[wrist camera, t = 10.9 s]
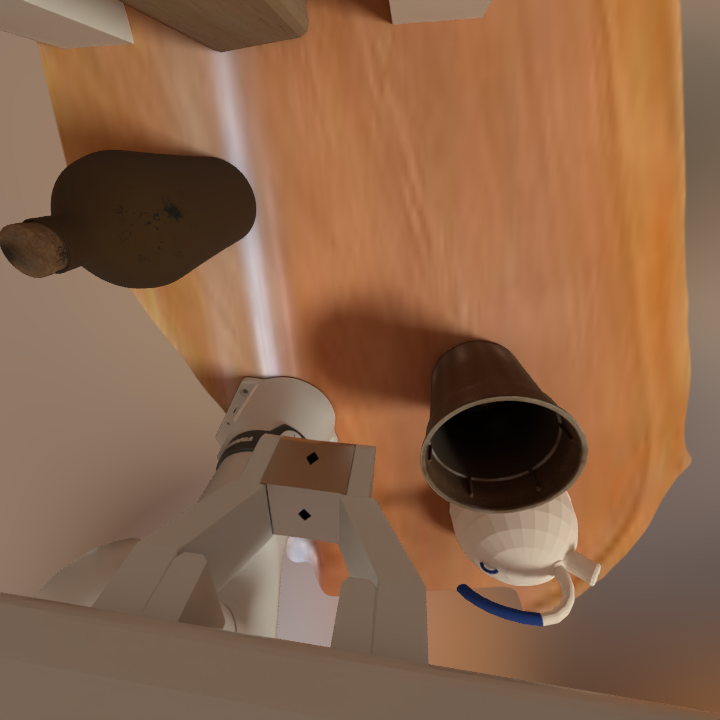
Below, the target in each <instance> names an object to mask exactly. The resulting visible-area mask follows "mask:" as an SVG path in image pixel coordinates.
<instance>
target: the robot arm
mask: <svg viewBox="0 0 720 720" xmlns="http://www.w3.org/2000/svg"><path fill="white" fill-rule="evenodd" d="M245 390H247V391H245ZM334 427H335V414H334V410H333V407H332V405H331V403H330V402H329V400H328V399H327V398H326V396H325V395H324V394H323V393H322V392H321V391H319V390H318V389H317V388H315V387H314V386H312V385H310V384H309V383H306V382H304V381H301V380H298V379H294V378H288V377H277V378H271V379H258V378H252V377H246V378H244V379H243V380H242V382H241V383H240V385H239V388H238V390H237V392H236V394H235V396H234V398H233V400H232V403H231V405H230V407H229V409H228V411H227V413H226V415H225V418H224V420H223V422H222V424H221V426H220V428H219V430H218V433H217V435H216V439H217V441H218V442H219V444H220V445H221V446H222V448H221V450H220V451H219V453H218V456H217V459H218V464H217V468H216V472H215V474H214V476H213V477H212V479H211V480H210V482H209V484H208V485H207V487H206V489H205V490H204V492H203V494H202V495H201V497H200V498H199V500H198V502H197V503H196V504H195V505H194V506H192V507H191V508H189V509H187V510H186V511H185V512H183V513H181V514H180V515H178V516H177V517H175V518H174V519H172V520H171V521H169V522H168V523H166V524H165V525H163V526H161V527H160V528H159V529H157V530H155V531H154V532H152V533H151V534H149V535H148V536H146V537H145V538H143V539H139V538H129V539H123V540H118V541H114V542H111V543H108V544H105V545H102V546H100V547H97V548H95V549H93V550H91V551H89V552H87V553H85V554H83V555H82V556H80V557H79V558H77V559H75V560H74V561H72V562H71V563H70V564H68V565H67V566H66V567H64V568H63V569H62V570H61V571H59V572H58V573H57V574H56V575H55V576H54V577H53V578H52V579H51V580H50V581H49V582H48V583H47V584H46V585H45V586H44V587H43V588H42V589H41V590H40V591H39V593H38V594H37V595H36V596H35V598H33V597H27V596H21V595H15V594H9V593H3V592H0V720H720V713H714V712H708V711H703V710H697V709H691V708H685V707H679V706H673V705H667V704H661V703H655V702H650V701H643V700H637V699H632V698H626V697H620V696H614V695H607V694H602V693H596V692H590V691H584V690H578V689H572V688H566V687H561V686H555V685H549V684H542V683H537V682H531V681H525V680H519V679H513V678H507V677H501V676H495V675H489V674H483V673H477V672H472V671H465V670H459V669H454V668H448V667H442V666H436V665H430V664H428V638H427V607H426V586H425V584H424V582H423V581H422V579H421V577H420V575H419V574H418V572H417V570H416V569H415V567H414V565H413V563H412V562H411V560H410V558H409V556H408V555H407V553H406V551H405V549H404V548H403V546H402V544H401V542H400V541H399V539H398V537H397V535H396V534H395V532H394V530H393V528H392V527H391V525H390V523H389V521H388V520H387V518H386V516H385V514H384V513H383V511H382V509H381V507H380V506H379V504H378V502H377V500H376V499H372V489H373V477H374V465H375V453H376V447H375V446H368V445H358V444H357V445H356V444H348V443H338V439H337V436H336V434H335V431H334ZM289 536H291V537H300V538H308V539H314V540H319V541H325V542H331V543H337V544H339V547H340V550H341V553H342V555H343V558H344V561H345V564H346V566H347V569H348V572H349V575H350V577H348V578H347V579H346V580H344V581H343V582H342V585H341V591H340V597H339V603H338V608H337V613H336V619H335V625H334V630H333V636H332V642H331V647H330V648H329V647H323V646H317V645H312V644H306V643H299V642H294V641H288V640H282V639H277V627H278V611H279V595H280V582H281V572H282V564H283V557H284V552H285V548H286V543H287V540H288V537H289Z"/></svg>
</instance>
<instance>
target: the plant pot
mask: <svg viewBox="0 0 720 720" xmlns="http://www.w3.org/2000/svg"><path fill="white" fill-rule="evenodd" d="M495 401H498V402H496V403H494V404H492V405H490V406H487V407H483V408H482V407H481V406H483V405H484V404H489V403H490V402H495ZM587 456H588V444H587V440H586V437H585V434H584V432H583V430H582V428H581V427H580V425H579V424H578V423H577V422H576V420H575V419H574V418H573V417H572V416H571V415H570V414H569V413H567V412H566V411H565V410H563V409H562V408H560V407H558V406H557V404H556V403H555V402H554V401H553V400H552V399H551V398H550V397H549V396H547V395H546V394H545V393H543V392H542V391H541V389H540V388H539V387H538V386H537V385H536V383H535V382H534V381H533V380H532V378H531V377H530V376H529V374H528V373H527V372H526V371H525V369H524V368H523V367H522V365H521V364H520V363H519V361H518V360H517V359H516V357H515V356H514V355H513V354H512V353H511V352H510V351H509V350H508V349H506V348H505V347H503V346H501V345H496V344H492V343H488V342H485V341H473V342H468V343H464V344H461V345H459V346H457V347H455V348H453V349H451V350H449V351H448V352H447V353H445V354H444V355H443V356H442V357H441V358H440V359H439V361H438V362H437V364H436V366H435V369H434V371H433V374H432V379H431V406H430V420H429V422H428V425H427V430H426V437H425V439H424V441H423V444H422V448H421V455H420V464H421V470H422V473H423V476H424V478H425V480H426V481H427V483H428V484H429V485H430V487H431V488H432V489H433V490H434V491H435V492H436V493H437V494H438V495H439V496H441V497H442V498H444V499H445V500H447V501H448V502H450V503H452V504H454V505H456V506H459V507H461V508H464V509H467V510H471V511H475V512H480V513H488V514H506V513H515V512H520V511H524V510H528V509H532V508H535V507H538V506H541V505H543V504H546V503H548V502H550V501H552V500H554V499H555V498H557V497H558V496H560V495H561V494H563V493H564V492H565V491H566V490H568V489H569V488H570V487H571V486H572V485H573V484H574V483H575V481H576V480H577V479H578V478H579V476H580V475H581V473H582V471H583V469H584V467H585V464H586V461H587Z"/></svg>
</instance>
